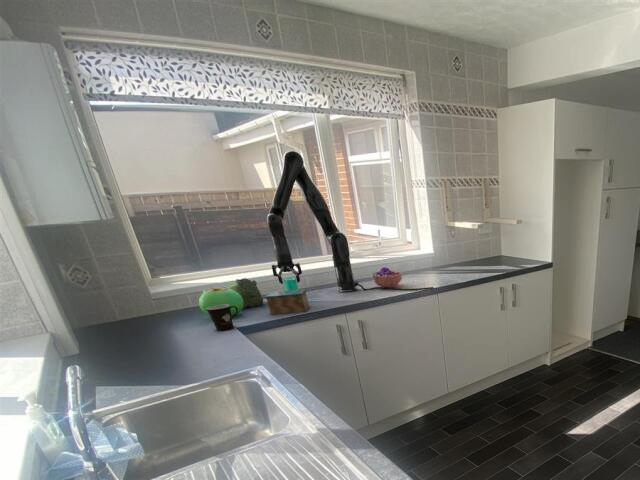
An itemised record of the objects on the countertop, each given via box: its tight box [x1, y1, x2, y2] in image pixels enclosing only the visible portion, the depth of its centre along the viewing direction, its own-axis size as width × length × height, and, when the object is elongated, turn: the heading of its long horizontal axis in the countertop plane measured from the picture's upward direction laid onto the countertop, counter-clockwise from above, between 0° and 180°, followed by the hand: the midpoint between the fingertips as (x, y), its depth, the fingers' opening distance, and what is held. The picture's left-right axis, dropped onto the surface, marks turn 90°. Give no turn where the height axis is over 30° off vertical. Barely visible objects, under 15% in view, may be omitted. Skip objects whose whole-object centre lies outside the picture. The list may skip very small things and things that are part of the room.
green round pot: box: [198, 283, 244, 317], centre depth 203 cm, size 18×17×15 cm
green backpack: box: [234, 277, 264, 310], centre depth 218 cm, size 11×19×15 cm, turn 115°
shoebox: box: [265, 288, 310, 315], centre depth 212 cm, size 17×11×9 cm, turn 104°
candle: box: [283, 277, 299, 291], centre depth 235 cm, size 6×6×12 cm
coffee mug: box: [206, 304, 238, 332], centre depth 187 cm, size 12×9×10 cm
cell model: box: [371, 267, 403, 288], centre depth 254 cm, size 17×20×11 cm
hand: (290, 283), depth 234 cm, fingers open, 8 cm apart
